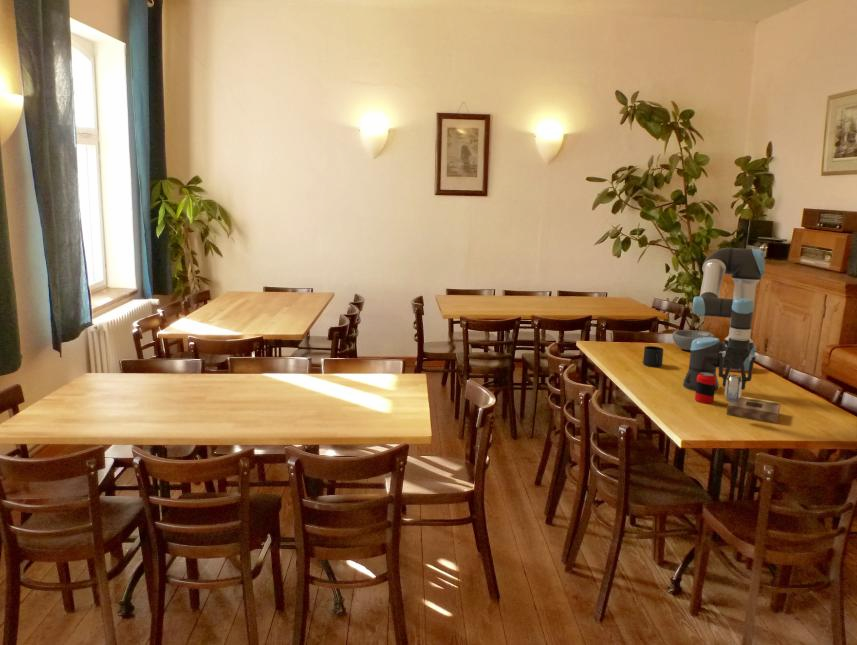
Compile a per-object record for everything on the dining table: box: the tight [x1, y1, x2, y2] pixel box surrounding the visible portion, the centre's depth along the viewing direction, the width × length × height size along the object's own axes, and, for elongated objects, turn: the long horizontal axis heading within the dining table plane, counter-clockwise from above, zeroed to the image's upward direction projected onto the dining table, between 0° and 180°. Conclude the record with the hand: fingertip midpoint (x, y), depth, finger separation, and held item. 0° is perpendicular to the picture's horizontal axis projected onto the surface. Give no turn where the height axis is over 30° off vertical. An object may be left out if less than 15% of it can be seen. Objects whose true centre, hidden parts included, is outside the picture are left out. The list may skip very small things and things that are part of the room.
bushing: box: [725, 374, 742, 403], centre depth 259 cm, size 4×4×10 cm
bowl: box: [672, 329, 716, 352], centre depth 379 cm, size 23×22×10 cm
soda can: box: [694, 372, 716, 404], centre depth 284 cm, size 8×8×12 cm
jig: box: [726, 395, 781, 424], centre depth 268 cm, size 18×14×5 cm
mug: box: [642, 345, 664, 368], centre depth 342 cm, size 9×12×9 cm
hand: (732, 395), depth 260 cm, fingers closed on bushing, 4 cm apart
